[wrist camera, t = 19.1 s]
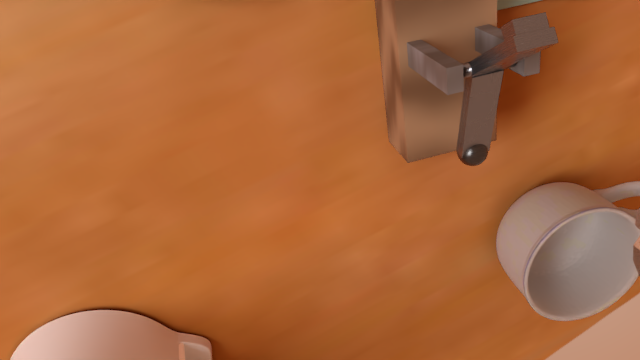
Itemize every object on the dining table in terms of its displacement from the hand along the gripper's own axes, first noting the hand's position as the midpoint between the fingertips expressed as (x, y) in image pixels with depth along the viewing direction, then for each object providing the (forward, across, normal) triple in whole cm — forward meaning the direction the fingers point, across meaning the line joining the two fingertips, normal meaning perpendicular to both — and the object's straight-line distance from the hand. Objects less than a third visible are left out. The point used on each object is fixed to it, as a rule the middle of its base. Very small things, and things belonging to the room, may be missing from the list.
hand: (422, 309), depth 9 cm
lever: (+23, -13, +5) cm, 26 cm away
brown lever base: (+31, -13, +2) cm, 34 cm away
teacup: (+31, -22, +26) cm, 46 cm away
